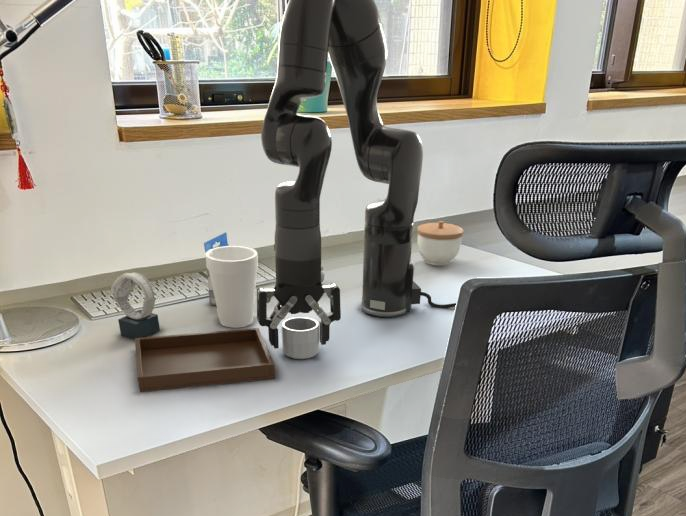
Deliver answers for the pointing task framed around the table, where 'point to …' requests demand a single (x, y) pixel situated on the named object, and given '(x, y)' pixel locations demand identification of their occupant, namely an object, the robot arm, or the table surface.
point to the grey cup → (300, 337)
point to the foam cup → (233, 283)
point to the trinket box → (439, 242)
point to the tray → (202, 359)
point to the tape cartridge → (208, 246)
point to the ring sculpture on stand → (135, 321)
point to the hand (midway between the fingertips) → (299, 345)
